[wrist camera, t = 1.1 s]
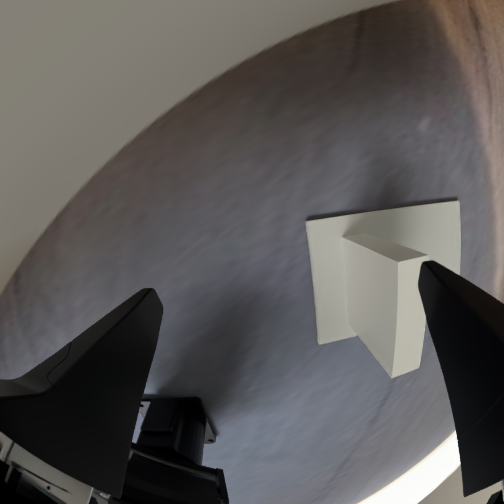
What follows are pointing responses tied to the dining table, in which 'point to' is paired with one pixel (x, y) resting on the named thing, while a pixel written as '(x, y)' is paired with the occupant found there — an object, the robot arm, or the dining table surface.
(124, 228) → the dining table surface
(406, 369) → the rectangular block
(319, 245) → the felt mat
